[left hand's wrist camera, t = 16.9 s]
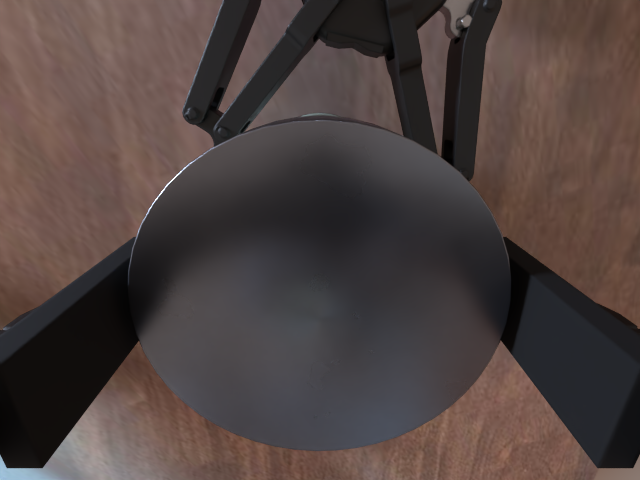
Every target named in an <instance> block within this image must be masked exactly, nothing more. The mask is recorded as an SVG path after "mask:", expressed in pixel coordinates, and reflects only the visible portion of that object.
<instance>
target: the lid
mask: <svg viewBox="0 0 640 480" xmlns="http://www.w3.org/2000/svg"><path fill="white" fill-rule="evenodd" d="M128 297H129V305H130V313H131V317H132V321H133V324H134V328H135V331H136V335H137V337H138V339H139V342H140V344H141V346H142V348H143V351H144V353H145V355H146V356H147V358H148V360H149V361H150V363H151V365H152V366H153V368H154V369H155V371H156V372H157V374H158V375H159V376H160V377H161V379H162V380H163V381H164V382H165V384H166V385H167V386H168V387H169V388H170V389H171V390H172V391H173V392H174V393H175V394H176V395H177V396H178V397H179V398H180V399H181V400H182V401H183V402H184V403H185V404H187V405H188V406H189V407H191V408H192V409H193V410H194V411H196V412H197V413H198V414H200V415H201V416H203V417H204V418H206V419H208V420H209V421H211V422H213V423H214V424H216V425H218V426H220V427H222V428H224V429H226V430H228V431H230V432H232V433H234V434H236V435H239V436H242V437H245V438H247V439H250V440H253V441H256V442H260V443H264V444H268V445H272V446H276V447H282V448H288V449H295V450H310V451H329V450H343V449H351V448H358V447H363V446H367V445H372V444H376V443H380V442H383V441H386V440H389V439H392V438H395V437H398V436H400V435H402V434H405V433H407V432H409V431H412V430H414V429H416V428H418V427H419V426H421V425H423V424H425V423H427V422H428V421H430V420H432V419H434V418H435V417H436V416H438V415H439V414H441V413H442V412H443V411H445V410H446V409H448V408H449V407H450V406H451V405H453V404H454V403H455V402H456V401H457V400H458V399H459V398H460V397H462V396H463V395H464V394H465V393H466V392H467V390H468V389H469V388H470V387H471V386H472V385H473V384H474V383H475V382H476V380H477V379H478V378H479V377H480V375H481V374H482V372H483V371H484V369H485V368H486V366H487V365H488V364H489V362H490V360H491V358H492V356H493V355H494V353H495V351H496V349H497V347H498V345H499V343H500V340H501V337H502V334H503V331H504V328H505V325H506V322H507V317H508V312H509V307H510V300H511V273H510V265H509V257H508V253H507V250H506V246H505V243H504V239H503V236H502V233H501V231H500V229H499V227H498V224H497V222H496V220H495V218H494V216H493V214H492V212H491V210H490V209H489V207H488V206H487V204H486V203H485V201H484V200H483V198H482V197H481V195H480V194H479V192H478V191H477V190H476V189H475V188H474V187H473V186H472V185H471V183H470V182H469V181H468V180H467V179H466V178H465V177H464V176H463V175H462V174H461V173H460V172H459V171H458V170H457V169H455V168H454V167H453V166H452V165H450V164H449V163H448V162H447V161H445V160H444V159H443V158H442V157H440V156H439V155H438V154H436V153H434V152H433V151H431V150H429V149H427V148H426V147H424V146H422V145H420V144H419V143H417V142H415V141H413V140H411V139H409V138H407V137H404V136H402V135H399V134H397V133H395V132H392V131H390V130H387V129H385V128H382V127H380V126H377V125H375V124H372V123H368V122H363V121H359V120H355V119H351V118H344V117H334V116H303V117H295V118H290V119H284V120H279V121H274V122H271V123H268V124H265V125H262V126H259V127H256V128H253V129H251V130H249V131H246V132H244V133H241V134H239V135H237V136H235V137H233V138H231V139H229V140H227V141H225V142H223V143H221V144H219V145H217V146H215V147H213V148H211V149H209V150H208V151H206V152H205V153H203V154H202V155H201V156H199V157H198V158H196V159H195V160H193V161H192V162H191V163H189V164H188V165H187V166H186V167H185V168H184V169H182V170H181V171H180V172H179V173H178V174H177V175H176V176H175V177H174V178H173V179H172V180H171V181H170V182H169V183H168V184H167V185H166V187H165V188H164V189H163V190H162V192H161V193H160V194H159V196H158V197H157V198H156V200H155V201H154V202H153V203H152V205H151V207H150V209H149V211H148V213H147V214H146V216H145V218H144V220H143V222H142V224H141V226H140V228H139V231H138V234H137V237H136V240H135V242H134V245H133V249H132V254H131V260H130V265H129V270H128Z"/></svg>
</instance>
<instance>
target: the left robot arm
mask: <svg viewBox="0 0 640 480" xmlns="http://www.w3.org/2000/svg"><path fill="white" fill-rule="evenodd" d="M503 239H504V243H505V246H506V250H507V253H508V257H509V265H510V273H511V300H510V307H509V312H508V317H507V322H506V325H505V328H504V331H503V334H502V337H501V341H502V342H503V344H504V345H505V346H506V348H507V349H508V350H509V352H510V353H511V354H512V355H513V357H514V358H515V359H516V361H517V362H518V363H519V365H520V366H521V367H522V369H523V370H524V371H525V373H526V374H527V375H528V377H529V378H530V379H531V381H532V382H533V383H534V385H535V386H536V387H537V389H538V390H539V391H540V393H541V394H542V395H543V397H544V398H545V399H546V401H547V402H548V403H549V404H550V406H551V407H552V408H553V410H554V411H555V412H556V414H557V415H558V416H559V418H560V419H561V420H562V422H563V423H564V424H565V426H566V427H567V428H568V430H569V431H570V432H571V434H572V435H573V436H574V438H575V439H576V440H577V442H578V443H579V444H580V446H581V447H582V448H583V450H584V451H585V452H586V453H587V455H588V456H589V457H590V459H591V460H592V461H593V463H594V464H595V465H596V467H597V468H633V467H634V465H635V463H636V461H637V459H638V457H639V455H640V329H638V328H637V326H636V325H635V324H633V323H632V322H630V321H629V320H628V319H626V318H625V317H623V316H622V315H621V314H619V313H617V312H615V311H613V310H610V309H608V308H606V307H604V306H602V305H600V304H597V303H595V302H594V301H593V300H591V299H590V298H588V297H587V296H586V295H584V294H583V293H582V292H580V291H579V290H578V289H576V288H575V287H573V286H572V285H571V284H569V283H568V282H567V281H565V280H564V279H563V278H561V277H560V276H558V275H557V274H556V273H554V272H553V271H552V270H550V269H549V268H548V267H546V266H545V265H543V264H542V263H541V262H539V261H538V260H537V259H535V258H534V257H533V256H531V255H530V254H528V253H527V252H526V251H524V250H523V249H522V248H520V247H519V246H518V245H516V244H515V243H513V242H512V241H511V240H509V239H508V238H507V237H503ZM135 240H136V237H133V238H132V239H131V240H129V241H128V242H127V243H125V244H124V245H122V246H121V247H120V248H118V249H117V250H116V251H114V252H113V253H112V254H110V255H109V256H107V257H106V258H105V259H103V260H102V261H101V262H99V263H98V264H97V265H95V266H94V267H92V268H91V269H90V270H88V271H87V272H86V273H84V274H83V275H82V276H80V277H79V278H77V279H76V280H75V281H73V282H72V283H71V284H69V285H68V286H67V287H65V288H64V289H62V290H61V291H60V292H58V293H57V294H56V295H54V296H53V297H52V298H50V299H49V300H47V301H46V302H45V303H43V304H42V305H41V306H39V307H37V308H35V309H33V310H31V311H29V312H26V313H24V314H22V315H20V316H19V317H18V318H16V319H15V320H13V321H12V322H11V323H9V324H8V325H6V326H5V327H4V328H3V330H0V455H1V457H2V459H3V461H4V463H5V465H6V467H7V468H43V467H44V465H45V464H46V463H47V461H48V460H49V459H50V457H51V456H52V455H53V453H54V452H55V451H56V450H57V448H58V447H59V446H60V444H61V443H62V442H63V440H64V439H65V438H66V436H67V435H68V434H69V432H70V431H71V430H72V428H73V427H74V426H75V424H76V423H77V422H78V420H79V419H80V418H81V416H82V415H83V414H84V412H85V411H86V410H87V408H88V407H89V406H90V404H91V403H92V402H93V401H94V399H95V398H96V397H97V395H98V394H99V393H100V391H101V390H102V389H103V387H104V386H105V385H106V383H107V382H108V381H109V379H110V378H111V377H112V375H113V374H114V373H115V371H116V370H117V369H118V367H119V366H120V365H121V363H122V362H123V361H124V359H125V358H126V357H127V355H128V354H129V353H130V352H131V350H132V349H133V348H134V346H135V345H136V344H137V342H138V341H139V339H138V337H137V335H136V331H135V328H134V324H133V321H132V317H131V313H130V305H129V297H128V270H129V265H130V260H131V254H132V249H133V245H134V242H135Z"/></svg>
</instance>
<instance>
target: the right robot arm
mask: <svg viewBox="0 0 640 480" xmlns="http://www.w3.org/2000/svg"><path fill="white" fill-rule="evenodd" d="M302 2H303V5H304V6H303V7H302V8H301V10H300V11H299V12H298V14H297V15H296V16H295V17H294V19H293V20H292V21H291V23H290V24H289V26H288V28H287V30H286V32H285V34H284V35H283V36H282V38H281V39H280V40H279V42H278V43H277V44H276V46H275V47H274V48H273V50H272V51H271V52H270V54H269V55H268V56H267V58H266V59H265V60H264V61H263V63H262V64H261V65H260V67H259V68H258V69H257V71H256V72H255V73H254V75H253V76H252V77H251V79H250V80H249V81H248V83H247V84H246V85H245V87H244V88H243V89H242V91H241V92H240V93H239V95H238V96H237V97H236V98H235V100H234V101H233V102H232V104H231V105H230V106H229V108H228V109H227V110H226V112H225V113H222V112H220V111H219V110H218V109H219V106H220V104H221V101H222V99H223V96H224V94H225V92H226V89H227V87H228V84H229V82H230V79H231V77H232V74H233V72H234V69H235V67H236V64H237V62H238V60H239V57H240V55H241V52H242V50H243V47H244V45H245V42H246V40H247V37H248V35H249V33H250V30H251V28H252V25H253V23H254V20H255V18H256V15H257V13H258V10H259V7H260V4H261V0H223V2H222V5H221V7H220V10H219V13H218V16H217V18H216V21H215V24H214V26H213V29H212V32H211V34H210V37H209V40H208V42H207V45H206V48H205V51H204V53H203V56H202V59H201V61H200V64H199V67H198V69H197V72H196V75H195V77H194V80H193V83H192V86H191V88H190V91H189V94H188V96H187V99H186V102H185V104H184V107H183V112H182V113H183V117H184V118H185V120H186V121H187V122H188V123H190V124H193V125H197V126H198V127H200V128H202V129H203V130H205V131H206V132H208V133H209V134H210V135H211V137H212V139H213V141H214V147H215V146H217V145H219V144H221V143H223V142H225V141H227V140H229V139H231V138H233V137H235V136H237V135H239V134H241V133H244V131H245V130H246V129H247V128H248V126H249V125H250V124H251V123H252V121H253V120H254V119H255V118H256V116H257V115H258V114H259V113H260V111H261V110H262V109H263V107H264V106H265V105H266V104H267V102H268V101H269V100H270V99H271V97H272V96H273V95H274V94H275V92H276V91H277V90H278V88H279V87H280V86H281V85H282V83H283V82H284V81H285V80H286V78H287V77H288V76H289V75H290V73H291V72H292V71H293V70H294V68H295V67H296V66H297V64H298V63H299V62H300V61H301V59H302V58H303V57H304V56H305V55H306V54H307V53H308V52H309V51H310V49H311V48H312V47H313V46H314V44H315V43H316V42H317V41H318V39H320V40H321V41H323V42H324V43H326V46H330V47H334V48H338V49H340V48H353V49H355V50H357V51H358V52H360V53H362V54H363V55H366V56H370V57H374V58H378V57H379V56H385V61H386V65H387V69H388V73H389V75H390V77H391V80H392V85H393V90H394V94H395V99H396V103H397V108H398V112H399V117H400V121H401V126H402V130H403V135H404V137H407V138H409V139H411V140H413V141H415V142H417V143H419V144H420V145H422V146H424V147H426V148H427V149H429V150H431V151H433V152H434V153H436V154H437V149H436V144H435V138H434V133H433V128H432V123H431V117H430V112H429V107H428V101H427V96H426V91H425V86H424V80H423V75H422V70H421V64H422V56H421V50H420V44H419V39H418V34H417V30H418V29H419V28H420V27H421V26H422V25H423V24H425V23H426V22H427V21H428V20H429V19H430V18H431V17H432V16H433V15H434V14H435V13H436V12H437V11H440V12H442V13H443V14H444V17H445V21H446V23H445V33H446V35H447V36H448V38H450V39H451V41H450V45H449V50H448V57H447V70H446V87H445V103H444V120H443V137H442V153H441V157H442V158H443V159H444V160H445V161H447V162H448V163H449V164H450V165H452V166H453V167H454V168H455V169H457V170H458V171H459V172H460V173H461V174H462V175H463V176H464V177H465V178H466V179H467V180H468V181H470V180H471V179H472V177H473V174H474V165H475V154H476V144H477V133H478V123H479V112H480V102H481V91H482V81H483V70H484V60H485V49H486V43H487V40H488V38H489V35H490V33H491V30H492V28H493V26H494V23H495V21H496V18H497V16H498V13H499V11H500V8H501V5H502V0H302Z"/></svg>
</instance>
